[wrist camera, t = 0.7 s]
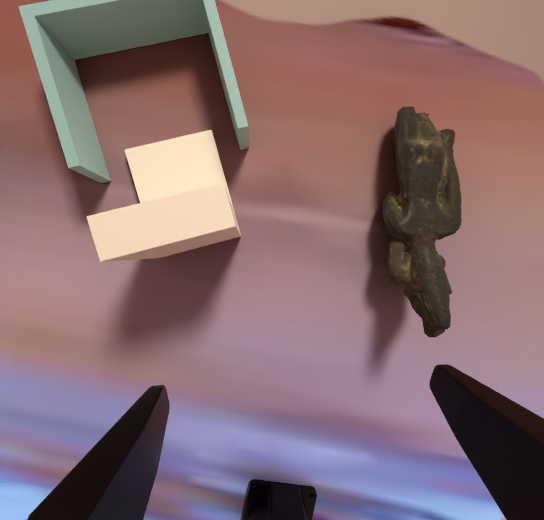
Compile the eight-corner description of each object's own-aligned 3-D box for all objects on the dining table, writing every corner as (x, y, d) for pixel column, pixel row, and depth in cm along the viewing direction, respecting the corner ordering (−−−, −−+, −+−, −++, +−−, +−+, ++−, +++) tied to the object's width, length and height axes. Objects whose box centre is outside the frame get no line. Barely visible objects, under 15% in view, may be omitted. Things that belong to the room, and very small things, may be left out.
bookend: (241, 236, 23) (235, 225, 14) (159, 257, 23) (100, 261, 14) (212, 133, 23) (188, 56, 14) (129, 153, 22) (46, 85, 13)
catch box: (248, 148, 23) (248, 125, 19) (101, 183, 22) (68, 167, 18) (214, 22, 22) (206, -29, 18) (62, 52, 21) (18, 6, 17)
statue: (369, 134, 27) (377, 331, 23) (389, 92, 21) (404, 339, 18) (432, 133, 26) (450, 333, 23) (469, 89, 21) (500, 342, 17)
